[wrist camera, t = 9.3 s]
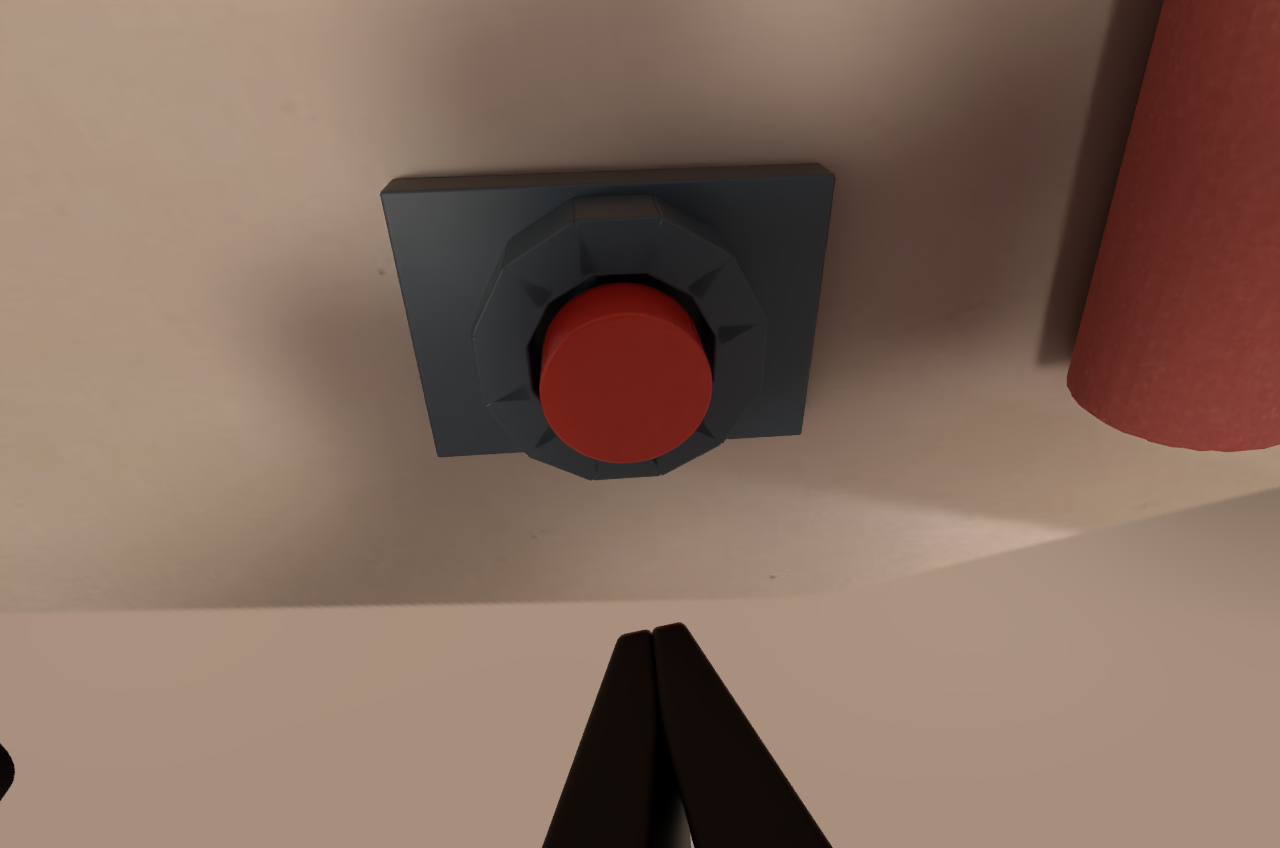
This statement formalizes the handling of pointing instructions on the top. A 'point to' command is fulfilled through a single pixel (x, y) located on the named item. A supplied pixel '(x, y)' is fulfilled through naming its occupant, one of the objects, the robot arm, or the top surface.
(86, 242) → the top surface
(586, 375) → the button
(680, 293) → the button box
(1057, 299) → the top surface
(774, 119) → the top surface
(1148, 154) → the blood vessel
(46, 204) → the top surface
